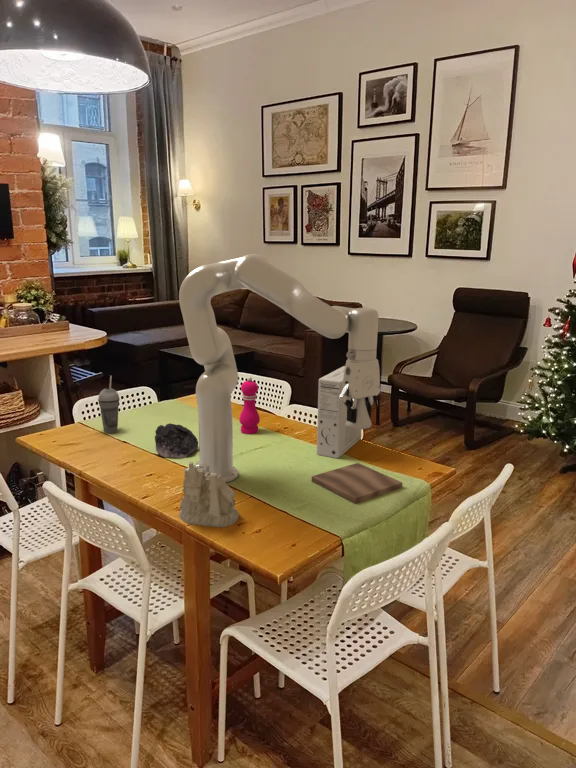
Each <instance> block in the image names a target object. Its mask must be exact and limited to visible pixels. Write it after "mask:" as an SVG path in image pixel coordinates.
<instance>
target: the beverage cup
mask: <svg viewBox="0 0 576 768" xmlns="http://www.w3.org/2000/svg"><path fill="white" fill-rule="evenodd" d="M109 376H110V377H109V387H106V388H103V389H102V390H100V392H99V394H98V398H97V401H98V405H99V408H100V414H101V421H102V427H103V431H104V433H105V434H114V433H116V432H118V425H119V405H120V396H119V393H118V391H117V390H116V389H114V388H112V380H113V379H112V377H113V376H112V375H109Z"/></svg>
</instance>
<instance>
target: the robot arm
mask: <svg viewBox="0 0 576 768" xmlns="http://www.w3.org/2000/svg"><path fill="white" fill-rule="evenodd" d="M245 288H247V289H249V290H250V291H252V292H253V293H255V294H257V295H259V296H261V297H262V298H264V299H265V300H268V301H269V302H271V303H272V304H274V305H275V306H277V307H279V308H280V309H282V311H283V310H284V312H285V313H287V314H289V315H290V316H292V318H294V319H296V320H297V321H299V322H300V323H301V324H303V325H304V326H306V327H308V328H309V329H311V330H313V331H315V332H316V333H318V334H319V335H321V336H323V337H325V338H328V339H333V340H334V339H340V338H341V337H343V336H344V335H345V334H346V333H348V345H347V346H348V347H347V349H348V351H347V352H346V355H345V356H346V358H347V359H346V361H345V362H346V363H345V364H344V366H345V370H344V376H343V390H342V392H341V394H340V396H339V399H340V400H341V401H342V402H343V403H344V404H345V406H346V407H347V421H349V422H352V423H356V418H357V409H355V407H356V402H357V399H361V398H365V403H366V407H367V411H368V414H369V417H370V420H371V419H372V406H373V405H374V402H375V400H376V398H377V396H378V395H379V394H380V393H381V388H380V386H381V383H380V382H381V376H380V372H381V371H380V364H379V360H378V359H377V348H378V333H379V332H378V330H379V312H378V310H376V309H374V308H369V307H357V308H353V307H346V306H341V305H332V306H331V305H330V304H327V303H326V302H324V301H323V300H321V299H319V298H318V297H317V296H316V295H313V294H312V293H311V292H310V291H309V290H308V289H307V288H305V286H304V284H302V283H301V282H300V281H299V280H298V279H297V278H295V277H293V276H292V275H290V274H288V273H286V272H285V271H283V270H281V269H280V268H278V267H276V266H274V265H273V264H271V263H270V262H269V261H268V259H267V258H266V257H264V256H263V255H261V254H258V253H251V254H246V255H243V256H240V257H236V258H232V259H228V260H223V261H218V262H215V263H209V264H203V265H200V266H198V267H196V268H195V269H193V270H192V271H190V272H189V273H188V274H187V275H186V276H185V278H184V279H183V281H182V283H181V285H180V288H179V290H178V291H179V292H178V299H179V300H178V302H179V307H180V311H181V314H182V319H183V324H184V329H185V333H186V337H187V342H188V346H189V351H190V355H191V357H192V358H193V360H194V361H195V362H196V363H197V364H198V365H200V366H203V367H204V372H203V373H202V374H201V375H200V376H199V378H198V380H197V382H196V386H195V398H196V403H197V413H198V418H197V419H198V438H199V439H198V449H199V450H198V451H199V453H198V454H199V460H198V461H195V462H196V463H195V465H194V464H193V466H195V467H196V468H197V469H201V471H203V472H204V475H206V474H207V472H209V473H210V474H211V473H216V474H217V476H218V475H219V474H220V475H221V477H222V478H223V480H224V481H225V483H226V484H227V483H229V482H232V481H234V480H236V479H237V478H238V476H239V470H238V468H236V467H235V466H234V464H233V463H234V462H233V461H234V458H233V456H234V455H233V454H234V451H233V450H234V449H233V447H234V446H233V445H234V444H233V443H234V442H233V438H234V437H233V436H234V435H233V407H232V393H233V392H234V390H235V389H236V387H237V385H238V384H239V373H238V372H239V371H238V368H237V363H236V358H235V355H234V350H233V346H232V342H231V339H230V337H229V335H228V334H227V332H226V331H225V330H224V329H223V328H221V327H219V326H218V325H217V322H216V316H215V312H214V308H213V306H212V304H211V303H212V302H211V300H212V298H213V297H215V296H217V295H220V294H223V293H228V292H232V291H236V290H240V289H245ZM346 396H347V397H346ZM351 399H353V400H352V402H351ZM185 470H187V471H189V467H186V468H183V473H184V474H185Z"/></svg>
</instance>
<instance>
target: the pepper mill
mask: <svg viewBox="0 0 576 768" xmlns="http://www.w3.org/2000/svg"><path fill="white" fill-rule="evenodd" d="M240 390H241V393H242V397H241V398H242V400H243V408H242V410H241V413H240V415H239V423H240V424H241V426H240V432H241V433H242V434H245V435H246V434H247V435H253V434H257V433H259V426H258V424H259V423H260V421H261V418H260V414H259V412H258V409H257V408H256V407H257V406H256V400H257V399H258V398H257V397H258V396H257V393H258V390H259V385H258V384H257V382H255V381H254V380H253V377H251V376H248V377H246V380H245V381H243V382H242V383H241V386H240Z"/></svg>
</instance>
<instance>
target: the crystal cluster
mask: <svg viewBox="0 0 576 768" xmlns="http://www.w3.org/2000/svg"><path fill="white" fill-rule="evenodd" d="M154 432H155V436H154V441H155V450H156V453H158V454H159V455H160V456H161V457H164V458H173V459H174V458H175V459H183V458H186V457H188V456H189V455H191V454H192V453H194V452H196V451H197V450H198V449H199V440H198V438H197V437H196V436H195V434H194V433H193V431H191V430H190V429H189V428H187V427H186V426H184V425H181V424H174V423H170V422H169V423H167V424H166V425H163V424H160V425H158V426H157V427H156V429H155V431H154Z"/></svg>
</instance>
